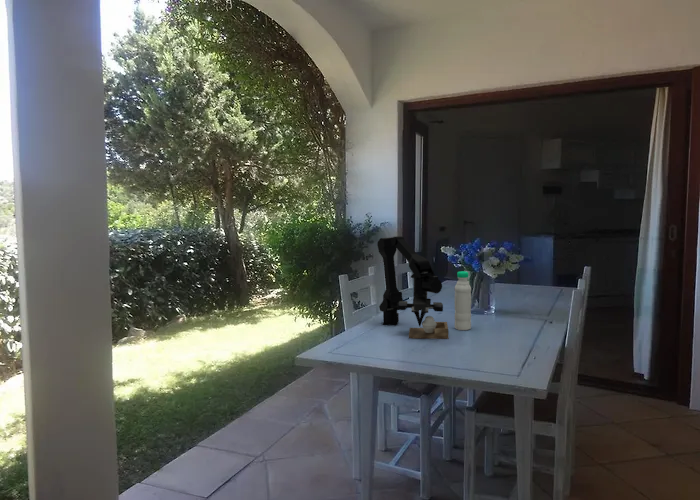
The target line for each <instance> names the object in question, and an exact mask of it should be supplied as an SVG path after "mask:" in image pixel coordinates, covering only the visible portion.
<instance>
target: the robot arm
mask: <svg viewBox="0 0 700 500" xmlns="http://www.w3.org/2000/svg"><path fill="white" fill-rule="evenodd" d="M376 245H377V249H378V252H379V254H380V256H381V257H382V261H383V262H382V263H383V270H384V271H383V272H384V281H385V290H384V293H383V294H382V299H383V300H382V301H381V302H380V304H379V306H378V307H379V311H381V312H382V313H383V315H382V316H383V323H382V325H383V326H398V324H399V319H400V317H399V314H400V313H399V312H398V311H405V310H407V309H411V313H413V314H414V315H415V317H416V320H417V324H418V328H421V325H422V322H423V321H424V320H423V319H424V318H425V315H426V314H428V313H429V310H431V309H432V310H433V311H434V312H444V304H443V303H442V302H439V301H437V302H435V301H433V302H432V303H433V304H432V303H431V301H432V299H431V298H428V293H431V294H439V293H440V292H441V291H442V289H443V283H442V281H441V280H440V279H439V276H438V275H436V274H435V271H434V270H433V268H432V266H431V263H430V261H429V259H427V258H426V257H424V256H422V255H420V254H418V253H417V252H416V251H415V250H414V249H413V247H411V245H409V243H408V242H407V241H406V240H405V237H404V236H402V235H399V236H398V235H397V236H392V237H380V238H379V239H378V241H377V243H376ZM397 251H399V252H400V254H401V255H402V256H403V257H404V259H405V260H406V261H407V262H408V268H409V269H410V270H411V272H412V273H413V274H411V275H410V278H412V279H413V295H412V296H413V298H412V303H409V302H408V301H407V300H404V299H403V293H402V291H400V290H399V289H398V286H397V275H396V265H395V255H396V252H397Z"/></svg>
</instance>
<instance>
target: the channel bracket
mask: <svg viewBox="0 0 700 500" xmlns="http://www.w3.org/2000/svg"><path fill="white" fill-rule="evenodd" d="M435 322H436V323H437V325H436V328H435V330H434V331H433V333H426V332H425V331H424V328H423V327H409V328H408V329H409V330H408V339H417V340H418V339H423V340H425V339H428V340H431V339H432V340H433V339H435V340H449V326H448V322H447V321H435Z"/></svg>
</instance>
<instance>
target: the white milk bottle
mask: <svg viewBox="0 0 700 500" xmlns="http://www.w3.org/2000/svg"><path fill="white" fill-rule="evenodd" d="M468 278H469V272H468V271H462V270H461V271H457V279H458V280H457V281H456V283H455V286H454V328H455V329H456V330H458V331H470V330H471V328H472V321H471V320H472V313H471V312H472V293H471V292H472V287H471V285H470V281H468Z"/></svg>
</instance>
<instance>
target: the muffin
mask: <svg viewBox="0 0 700 500" xmlns="http://www.w3.org/2000/svg"><path fill="white" fill-rule="evenodd" d="M436 322H437V321H435V319H434V316H431V315H427V316H425V317H424V320H422V323H421V325H422V328H424V331H425V332H426V333H433V331H434V330H435V328H436V325H437V323H436Z"/></svg>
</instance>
